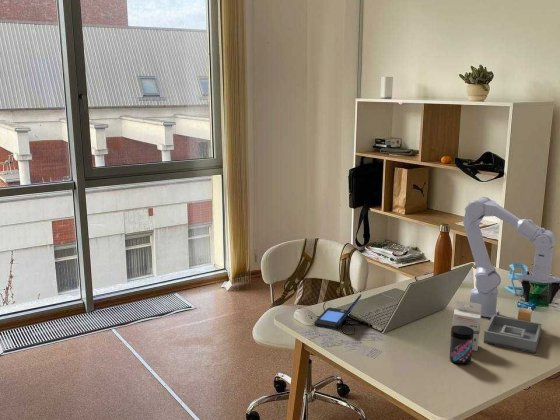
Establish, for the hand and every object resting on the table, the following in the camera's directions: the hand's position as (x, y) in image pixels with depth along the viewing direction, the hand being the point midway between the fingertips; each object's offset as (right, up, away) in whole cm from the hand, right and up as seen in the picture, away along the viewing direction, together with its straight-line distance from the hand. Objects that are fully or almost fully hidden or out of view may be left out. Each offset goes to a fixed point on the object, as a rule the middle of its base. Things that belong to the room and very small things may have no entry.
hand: (538, 301), depth 200 cm
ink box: (-30, -13, -13) cm, 35 cm away
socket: (-12, -11, -7) cm, 18 cm away
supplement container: (-35, -15, -23) cm, 44 cm away
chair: (+7, -2, +36) cm, 36 cm away
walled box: (-12, -11, -7) cm, 18 cm away
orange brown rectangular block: (-4, -9, +3) cm, 10 cm away
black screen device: (-70, -8, +7) cm, 71 cm away
